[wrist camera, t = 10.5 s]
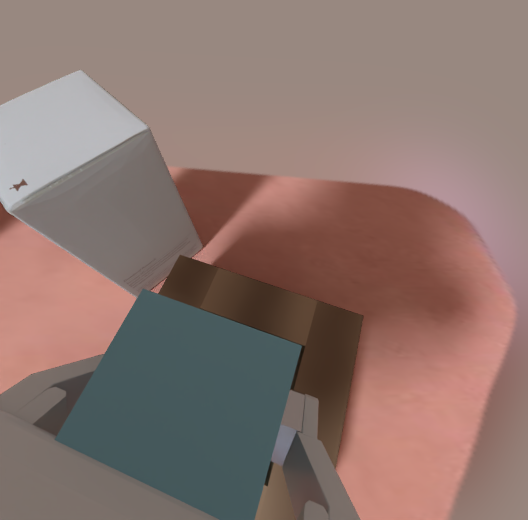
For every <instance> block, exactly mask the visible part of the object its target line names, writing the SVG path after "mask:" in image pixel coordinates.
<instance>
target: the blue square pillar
mask: <svg viewBox="0 0 528 520" xmlns="http://www.w3.org/2000/svg"><path fill="white" fill-rule="evenodd" d="M301 348H302V345H299V344H296V343H293V342H290V341H288V340H285V339H282V338H279V337H276V336H274V335H271V334H268V333H265V332H263V331H260V330H257V329H254V328H251V327H249V326H246V325H243V324H240V323H237V322H235V321H232V320H229V319H226V318H224V317H221V316H218V315H215V314H212V313H210V312H207V311H204V310H201V309H198V308H196V307H193V306H190V305H187V304H185V303H182V302H179V301H176V300H173V299H171V298H168V297H165V296H162V295H160V294H157V293H154V292H151V291H148V290H146V289H142V291H141V293H140V294H139V296H138V298H137V299H136V301H135V303H134V305H133V306H132V308H131V310H130V311H129V313H128V315H127V317H126V318H125V320H124V322H123V323H122V325H121V327H120V328H119V330H118V332H117V334H116V335H115V337H114V339H113V340H112V342H111V344H110V346H109V347H108V349H107V351H106V352H105V354H104V356H103V358H102V359H101V361H100V363H99V364H98V366H97V368H96V370H95V371H94V373H93V375H92V376H91V378H90V380H89V382H88V383H87V385H86V387H85V388H84V390H83V392H82V394H81V395H80V397H79V399H78V400H77V402H76V404H75V406H74V407H73V409H72V411H71V412H70V414H69V416H68V417H67V419H66V421H65V423H64V424H63V426H62V428H61V429H60V431H59V433H58V435H57V436H56V438H55V440H56V441H58V442H60V443H62V444H64V445H66V446H68V447H70V448H72V449H74V450H76V451H78V452H80V453H82V454H85V455H87V456H89V457H91V458H93V459H95V460H97V461H99V462H101V463H103V464H105V465H107V466H109V467H111V468H114V469H116V470H118V471H120V472H122V473H124V474H126V475H128V476H130V477H132V478H134V479H136V480H138V481H140V482H143V483H145V484H147V485H149V486H151V487H153V488H155V489H157V490H159V491H161V492H163V493H165V494H167V495H170V496H172V497H174V498H176V499H178V500H180V501H182V502H184V503H186V504H188V505H190V506H192V507H194V508H196V509H198V510H201V511H203V512H205V513H207V514H209V515H211V516H213V517H215V518H217V519H219V520H255V516H256V513H257V509H258V505H259V502H260V498H261V494H262V491H263V487H264V483H265V480H266V476H267V472H268V469H269V465H270V461H271V458H272V454H273V450H274V447H275V443H276V439H277V436H278V432H279V428H280V425H281V421H282V417H283V414H284V410H285V406H286V403H287V399H288V395H289V392H290V388H291V384H292V381H293V377H294V373H295V370H296V366H297V362H298V359H299V355H300V351H301Z"/></svg>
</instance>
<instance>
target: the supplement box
mask: <svg viewBox="0 0 528 520" xmlns="http://www.w3.org/2000/svg"><path fill="white" fill-rule="evenodd" d="M0 201H1V203H2V204H3V206H4V208H5V209H6V211H7V212H8V213H10V214H11V215H13V216H14V217H16V218H17V219H19V220H20V221H22V222H23V223H25V224H26V225H28V226H29V227H31V228H32V229H34V230H35V231H37V232H38V233H40V234H41V235H43V236H44V237H46V238H47V239H49V240H50V241H52V242H53V243H55V244H56V245H58V246H59V247H61V248H62V249H64V250H65V251H67V252H68V253H70V254H71V255H73V256H74V257H76V258H77V259H79V260H81V261H82V262H83V263H85V264H86V265H88V266H89V267H91V268H92V269H94V270H96V271H97V272H99V273H100V274H102V275H103V276H105V277H106V278H108V279H109V280H111V281H112V282H114V283H115V284H117V285H118V286H120V287H121V288H123V289H124V290H125V291H127V292H129V293H130V294H132V295H133V296H135V297H136V298H138V296H139V294H140V293H141V291H142V289H146V290H148V291H150V290H151V289H152V288H153V287H155V286H156V285H157V284H158V283H160V282H161V281H162V280H164V279H165V278H166V277H167V276H168V275H169V273H170V272H171V270H172V268H173V266H174V264H175V263H176V261H177V259H178V257H179V255H183V256H186V257H189V258H191V257H193V256H194V255H195V254H196V253H198V252H199V251H200V250H201V249H202V248H203V245H202V243H201V241H200V238H199V236H198V234H197V232H196V230H195V227H194V225H193V223H192V221H191V219H190V216H189V214H188V212H187V210H186V207H185V205H184V203H183V201H182V199H181V197H180V195H179V192H178V190H177V188H176V186H175V183H174V181H173V179H172V177H171V175H170V173H169V170H168V168H167V166H166V164H165V161H164V159H163V157H162V155H161V153H160V150H159V148H158V146H157V144H156V141H155V139H154V137H153V135H152V132H151V130H150V128H149V127H148V126H147V125H146V124H145V123H144V122H143V121H141V120H140V119H139V118H138V117H137V116H135V115H134V114H133V113H132V112H131V111H130V110H129V109H127V108H126V107H125V106H124V105H123V104H121V103H120V102H119V101H118V100H117V99H115V98H114V97H113V96H112V95H111V94H110V93H108V92H107V91H106V90H105V89H104V88H102V87H101V86H100V85H99V84H98V83H96V82H95V81H94V80H93V79H92V78H90V77H89V76H88V75H87V74H85V73H84V72H83V71H82V70H79V71H76V72H74V73H72V74H69V75H67V76H64V77H62V78H60V79H57V80H55V81H53V82H50V83H48V84H46V85H44V86H42V87H39V88H37V89H35V90H33V91H30V92H28V93H26V94H23V95H21V96H19V97H17V98H15V99H13V100H10V101H8V102H6V103H4V104H2V105H0Z"/></svg>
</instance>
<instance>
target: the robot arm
mask: <svg viewBox="0 0 528 520" xmlns="http://www.w3.org/2000/svg"><path fill="white" fill-rule="evenodd" d="M103 356H104V354H102V355H98V356H95V357H91V358H87V359H84V360H80V361H77V362H73V363H70V364H66V365H63V366H59V367H55V368H52V369H48V370H45V371H41V372H38V373H34V374H31V375H29V376H28V377H26V378H25V379H23V380H22V381H20V382H19V383H17V384H16V385H14V386H13V387H11V388H10V389H8V390H7V391H5V392H4V393H2V394H0V520H219V519H217V518H215V517H213V516H211V515H209V514H207V513H205V512H203V511H201V510H198V509H196V508H194V507H192V506H190V505H188V504H186V503H184V502H182V501H180V500H178V499H176V498H174V497H172V496H170V495H167V494H165V493H163V492H161V491H159V490H157V489H155V488H153V487H151V486H149V485H147V484H145V483H143V482H140V481H138V480H136V479H134V478H132V477H130V476H128V475H126V474H124V473H122V472H120V471H118V470H116V469H114V468H111V467H109V466H107V465H105V464H103V463H101V462H99V461H97V460H95V459H93V458H91V457H89V456H87V455H85V454H82V453H80V452H78V451H76V450H74V449H72V448H70V447H68V446H66V445H64V444H62V443H60V442H58V441H56V440H55V438H56V436H57V435H58V433H59V431H60V429H61V428H62V426H63V424H64V423H65V421H66V419H67V417H68V416H69V414H70V412H71V411H72V409H73V407H74V406H75V404H76V402H77V400H78V399H79V397H80V395H81V394H82V392H83V390H84V388H85V387H86V385H87V383H88V382H89V380H90V378H91V376H92V375H93V373H94V371H95V370H96V368H97V366H98V364H99V363H100V361H101V359H102V358H103ZM318 404H319V401H318V398H315V397H312V396H310V395H307V394H304V393H302V392H299V391H296V390H294V389H291V388H290V392H289V395H288V399H287V403H286V406H285V410H284V414H283V417H282V421H281V425H280V428H279V432H278V436H277V439H276V443H275V447H274V450H273V454H272V458H271V461H272V462H274V463H276V464H278V465H281V466H283V467H282V469H283V473H284V477H285V481H286V484H287V488H288V492H289V496H290V500H291V503H292V507H293V511H294V515H295V518H296V520H360V518H359V516H358V514H357V512H356V510H355V508H354V506H353V504H352V502H351V500H350V498H349V496H348V494H347V492H346V490H345V488H344V486H343V484H342V482H341V480H340V478H339V476H338V474H337V472H336V470H335V468H334V466H333V464H332V462H331V460H330V458H329V456H328V454H327V452H326V450H325V448H324V446H323V444H322V442H321V441H320V440H318V439H317V432H318Z"/></svg>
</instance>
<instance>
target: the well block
mask: <svg viewBox="0 0 528 520" xmlns="http://www.w3.org/2000/svg"><path fill="white" fill-rule="evenodd" d="M158 294H160V295H162V296H165V297H168V298H171V299H173V300H176V301H179V302H182V303H185V304H187V305H190V306H193V307H196V308H198V309H201V310H204V311H207V312H210V313H212V314H215V315H218V316H221V317H224V318H226V319H229V320H232V321H235V322H237V323H240V324H243V325H246V326H249V327H251V328H254V329H257V330H260V331H263V332H265V333H268V334H271V335H274V336H276V337H279V338H282V339H285V340H288V341H290V342H293V343H296V344H299V345H302V348H301V351H300V355H299V359H298V362H297V366H296V370H295V373H294V377H293V381H292V384H291V389H294V390H296V391H299V392H302V393H304V394H307V395H310V396H312V397H315V398H318V401H319V404H318V432H317V439H318V440H320V441H321V442H322V444H323V446H324V448H325V450H326V452H327V454H328V456H329V458H330V460H331V462H332V464H333V466H334V468H336V463H337V457H338V452H339V446H340V441H341V436H342V430H343V425H344V419H345V414H346V408H347V403H348V397H349V392H350V387H351V381H352V376H353V370H354V365H355V359H356V354H357V348H358V343H359V337H360V332H361V327H362V321H363V315H360V314H357V313H354V312H351V311H348V310H345V309H342V308H339V307H336V306H333V305H330V304H327V303H324V302H321V301H318V300H315V299H312V298H309V297H306V296H303V295H300V294H297V293H294V292H291V291H288V290H285V289H282V288H279V287H276V286H273V285H270V284H267V283H264V282H261V281H258V280H255V279H252V278H249V277H246V276H243V275H240V274H237V273H234V272H231V271H228V270H225V269H222V268H219V267H216V266H213V265H210V264H207V263H204V262H201V261H198V260H195V259H192V258H189V257H186V256H183V255H179V257H178V259H177V261H176V263H175V264H174V266H173V268H172V270H171V272H170V273H169V275H168V277H167V279H166V281H165V282H164V284H163V286H162V288H161V290H160V292H159V293H158ZM282 467H283V466H281V465H278V464H276V463H274V462H272V461H270V465H269V469H268V472H267V476H266V480H265V483H264V487H263V491H262V494H261V498H260V502H259V505H258V509H257V513H256V516H255V520H296V518H295V515H294V511H293V507H292V503H291V500H290V496H289V492H288V488H287V484H286V481H285V477H284V473H283V469H282Z"/></svg>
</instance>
